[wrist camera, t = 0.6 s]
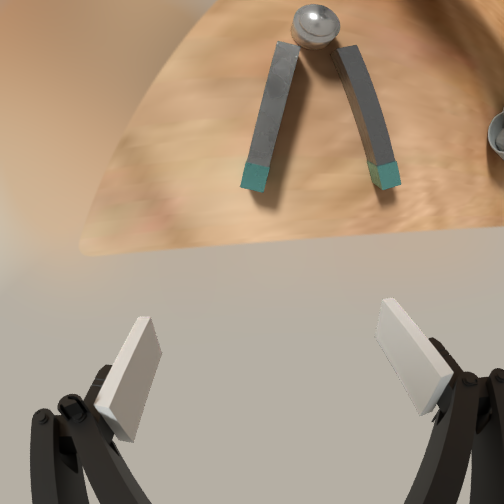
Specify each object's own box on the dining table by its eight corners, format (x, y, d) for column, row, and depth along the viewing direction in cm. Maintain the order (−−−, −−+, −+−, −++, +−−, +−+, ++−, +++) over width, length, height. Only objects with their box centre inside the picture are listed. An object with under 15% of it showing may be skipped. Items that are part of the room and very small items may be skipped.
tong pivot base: (284, 21, 24) (286, 9, 20) (330, 11, 22) (337, -1, 18) (349, 189, 34) (358, 199, 30) (389, 176, 32) (403, 185, 29)
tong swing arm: (285, 12, 23) (288, -4, 18) (330, 24, 23) (341, 11, 19) (243, 179, 34) (238, 191, 29) (286, 189, 34) (288, 203, 30)
